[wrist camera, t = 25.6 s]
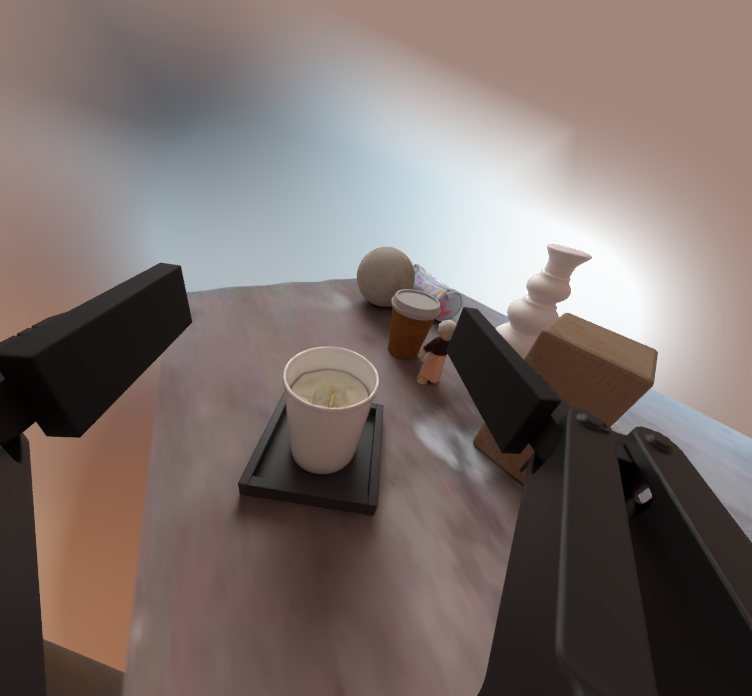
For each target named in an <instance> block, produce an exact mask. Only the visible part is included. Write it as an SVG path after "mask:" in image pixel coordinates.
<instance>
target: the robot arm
mask: <svg viewBox="0 0 752 696" xmlns="http://www.w3.org/2000/svg"><path fill="white" fill-rule="evenodd" d="M191 323H192V319H191V314H190V309H189V304H188V299H187V294H186V289H185V284H184V280H183V275H182V269H181V266H179V265H173V264H166V263H159V264H157V265H155V266H153V267H151V268H150V269H148V270H146V271H144V272H142V273H140V274H138V275H136V276H135V277H133V278H131V279H129V280H127V281H125V282H123V283H121V284H119V285H117V286H116V287H114V288H112V289H110V290H108V291H106V292H104V293H102V294H100V295H99V296H97V297H95V298H93V299H91V300H89V301H87V302H85V303H83V304H81V305H80V306H78V307H76V308H74V309H72V310H70V311H68V312H65V313H62V314H59V315H56V316H52V317H49V318H47V319H45V320H43V321H41V322H39V323H37V324H35V325H33V326H32V328H27V329H25V330H23V331H22V332H19V333H18V334H17V336H12V337H10V338H8V339H6V340H4V341H2V342H0V696H47V694H46V679H45V665H44V650H43V636H42V621H41V608H40V593H39V579H38V564H37V550H36V535H35V521H34V506H33V492H32V477H31V463H30V449H29V441H28V439H27V438H26V436H25V435H24V434H23V432H24V431H25V430H26V429H27V428H28V427H30V426H31V425H32V424H33V423H35V422H37V424H38V425H39V426H40V428H41V429H42V430H43V432H44V433H45V435H46V436H53V437H78V438H80V437H81V436H82V435H83V434H84V433H85V432H86V431H87V430H88V429H89V428H90V427H91V426H92V425H93V424H94V423H95V422H96V421H97V419H99V418H100V417H101V416H102V414H103V413H104V412H105V411H106V410H107V409H108V408H109V407H110V406H111V405H112V404H113V403H114V402H115V401H116V400H117V399H118V398H119V397H120V396H121V395H122V394H123V393H124V392H125V391H126V390H127V389H128V388H129V387H130V386H131V385H132V384H133V383H134V382H135V381H136V380H137V378H138V377H139V376H140V375H141V374H142V373H143V372H144V371H145V370H146V369H147V368H148V367H149V366H150V365H151V364H152V363H153V362H154V361H155V360H156V359H157V358H158V357H159V356H160V355H161V354H162V353H163V352H164V351H165V350H166V349H167V348H168V347H169V346H170V345H171V344H172V343H173V342H174V341H175V340H176V338H177V337H178V336H179V335H180V334H181V333H182V332H183V331H184V330H185V329H186V328H187V327H188V326H189V325H190V324H191ZM446 352H447V353H448V355H449V357H450V359H451V361H452V363H453V364H454V366H455V368H456V370H457V372H458V374H459V375H460V377H461V379H462V381H463V383H464V385H465V386H466V388H467V390H468V392H469V394H470V396H471V397H472V399H473V401H474V403H475V405H476V407H477V408H478V410H479V412H480V414H481V416H482V418H483V420H484V421H485V423H486V425H487V427H488V429H489V431H490V432H491V434H492V436H493V438H494V440H495V442H496V443H497V445H498V447H499V449H500V451H501V453H505V454H521V453H522V451H523V450H524V449H525V447H526V446H527V445H528V444H530V446H531V447H532V449H533V450H534V453H533V454H532V455H531V456H530V457H529V459H528V460H527V461H526V462H525V463H524V465H523V466H522V467H521V469H520V470H519V471H520V472H523V471H524V470H525V469H527V472H526V477H525V482H524V487H523V492H522V497H521V502H520V507H519V512H518V517H517V522H516V527H515V532H514V537H513V542H512V547H511V552H510V557H509V562H508V567H507V572H506V577H505V582H504V587H503V592H502V597H501V602H500V607H499V612H498V617H497V622H496V627H495V632H494V637H493V642H492V647H491V652H490V657H489V662H488V667H487V672H486V676H485V680H484V683H483V685H482V688H481V690H480V692H479V693H478V695H477V696H752V543H751V541H750V540H749V539H748V537H747V536H746V535H745V534H744V532H743V531H742V530H741V528H740V527H739V526H738V524H737V523H736V522H735V520H734V519H733V518H732V516H731V515H730V514H729V512H728V511H727V510H726V508H725V507H724V506H723V504H722V503H721V502H720V501H719V499H718V498H717V497H716V495H715V494H714V493H713V491H712V490H711V489H710V487H709V486H708V485H707V483H706V482H705V481H704V479H703V478H702V477H701V475H700V474H699V473H698V471H697V470H696V469H695V467H694V466H693V465H692V464H691V462H690V461H689V460H688V458H687V457H686V456H685V454H684V453H683V452H682V451H681V450H680V449H679V447H678V446H677V445H675V444H674V443H673V442H672V441H670V439H669V438H667V437H666V436H663V434H661V433H659V432H655V431H653V430H651V429H648V428H645V427H636V428H634V429H633V430H632V431H631V432H630V433H629V434H628V435H627V436H626V435H623V434H620V433H616V432H613V431H612V430H611V428H610V427H609V426H608V425H607V423H606V422H605V421H603V420H602V419H601V418H599V417H598V416H596V415H595V414H593V413H591V412H589V411H587V410H584V409H582V408H576V407H574V408H572V407H571V406H570V405H569V404H568V403H567V402H566V401H565V400H564V399H563V398H562V396H561V395H560V394H559V393H558V392H557V391H556V390H555V389H554V388H553V387H552V386H551V385H549V383H548V382H547V380H546V379H545V378H542V377H543V376H542V375H541V374H540V373H539V372H538V371H537V370H536V369H535V368H534V367H533V366H531V365H530V364H529V363H527V362H526V361H525V360H524V359H523V358H522V357H521V356H520V355H519V354H518V353H517V352H516V351H515V350H514V348H513V347H512V346H511V345H510V344H509V343H508V342H507V341H506V340H505V339H504V338H503V337H502V335H501V334H500V333H499V332H498V331H497V330H496V329H495V328H494V327H493V326H492V325H491V323H490V322H489V321H488V320H487V319H486V318H485V317H484V316H483V315H482V314H481V313H480V311H479V310H478V309H474V308H467V307H464V308H463V310H462V312H461V315H460V317H459V320H458V322H457V325H456V327H455V330H454V332H453V335H452V337H451V340H450V342H449V345H448V347H447V350H446ZM648 487H649V489H650V491H651V493H652V498H651V499H650V500H648V501H647V502H645V503H643V504H642V503H641V502H640V500H639V498H638V495H639V494H640V493H642V492H643V491H644V490H646V489H647V488H648Z"/></svg>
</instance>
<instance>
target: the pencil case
mask: <svg viewBox="0 0 752 696" xmlns="http://www.w3.org/2000/svg"><path fill="white" fill-rule="evenodd" d="M413 268H414V272H415V281H414V286H413V288H412V290H417V291H421V292H425V293H427V294H429V295H431V296H433V297H435V298H436V299H437V300H438V301H439V303H440V311H441V312H440V314H439V315H438V316H437V317H436V318H435V319H436V320H437V321H440V322H442V321H446V320H450V319H452V318H453V317H454V316H455V315H456V314H457V313H458V312H459V311H460V309H461V307H462V296H461V295H460V293H459V292H458V291H456V290H454V289H451V288H450V287H448V286H447V285H445V284H443V283H441V282H440V281H438V280H436V279H435V278H434V277H432V276H431V275H430V274H429V273H427V272H426V271H425V270H424V269H423V268H422V267H421V266H420V265H417V264H415V265H414V266H413Z"/></svg>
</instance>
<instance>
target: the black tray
mask: <svg viewBox="0 0 752 696" xmlns="http://www.w3.org/2000/svg"><path fill="white" fill-rule="evenodd" d="M382 419H383V405H380V404H374V403H372V405H371V408H370V411H369V414H368V417H367V420H366V423H365V426H364V429H363V432H362V435H361V438H360V441H359V444H358V447H357V449H356V452H355V454H354V456H353V458H352V460H351V461H350V462H349V463H348V464H347V465H346V466H345V467H344V468H342V469H341V470H339V471H337V472H334V473H330V474H315V473H311V472H308V471H306V470H304V469H303V468H301V467H300V466H299V465H298V464H297V463H296V462H295V460H294V459H293V456H292V454H291V450H290V443H289V433H288V422H287V411H286V400H285V392H284V394H283V396H282V398H281V400H280V402H279V404H278V406H277V408H276V410H275V411H274V413H273V415H272V417H271V419H270V421H269V423H268V425H267V427H266V429H265V431H264V433H263V435H262V437H261V439H260V441H259V443H258V445H257V447H256V449H255V451H254V453H253V455H252V457H251V459H250V461H249V463H248V465H247V467H246V469H245V471H244V473H243V475H242V476H241V478H240V480H239V482H238V486H239V492H240V494H244V495H250V496H256V497H263V498H269V499H275V500H281V501H287V502H293V503H300V504H306V505H312V506H318V507H324V508H331V509H337V510H343V511H349V512H355V513H361V514H368V515H374V513H375V511H376V508H377V502H378V485H379V469H380V452H381V436H382Z"/></svg>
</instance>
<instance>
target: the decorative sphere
mask: <svg viewBox="0 0 752 696" xmlns="http://www.w3.org/2000/svg"><path fill="white" fill-rule="evenodd" d="M414 281H415V272H414V268H413V265H412V263H411V261H410V259H409V258H408V257H407V256H406V255H405V254H404V253H403V252H401V251H400V250H398V249H395V248H391V247H381V248H377V249H374V250H373V251H371V252H369V253H368V254H367V255H366V256H365V257H364V258H363V260H362V261H361V263H360V265H359V267H358V271H357V283H358V287H359V289H360V292H361V293H362V295H363V296H364V297H365V298H366V299H367V300H368V301H369V302H371V303H372V304H375V305H377V306H381V307H390V306H392V302H391V299H392V297H393V296H395V294H396V292H397V291H399V290H403V289H411V290H412V288H413V286H414Z"/></svg>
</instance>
